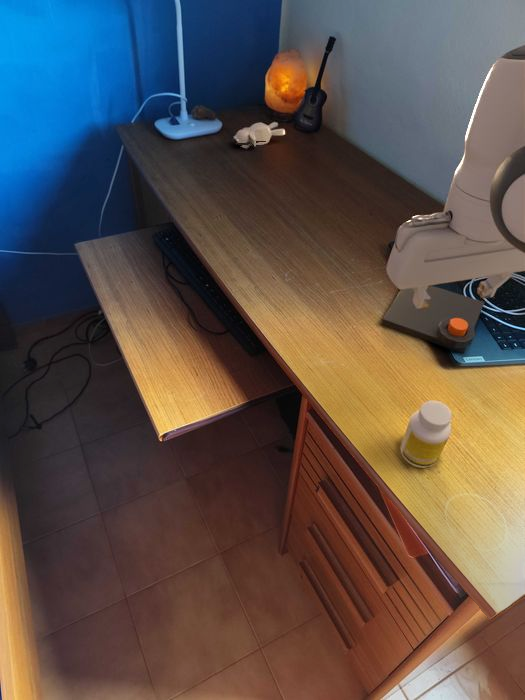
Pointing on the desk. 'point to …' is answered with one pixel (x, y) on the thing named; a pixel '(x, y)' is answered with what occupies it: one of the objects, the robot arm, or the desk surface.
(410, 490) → the desk surface
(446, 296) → the scale
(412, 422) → the supplement bottle
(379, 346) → the desk surface
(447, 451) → the desk surface
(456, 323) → the button
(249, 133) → the bunny figurine
